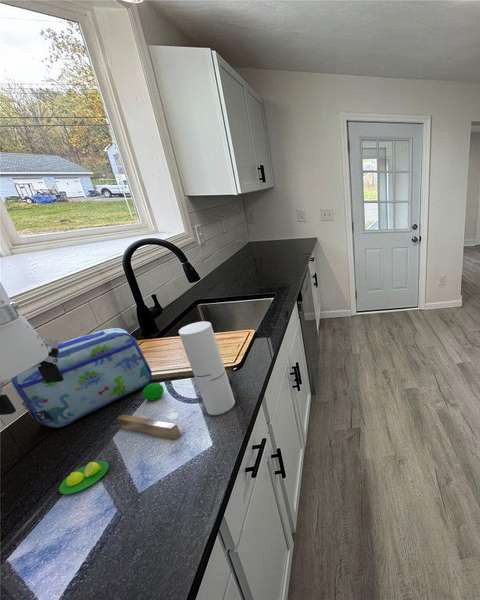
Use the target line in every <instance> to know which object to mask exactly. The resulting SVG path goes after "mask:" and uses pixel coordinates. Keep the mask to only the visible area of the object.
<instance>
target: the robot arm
mask: <svg viewBox="0 0 480 600" xmlns="http://www.w3.org/2000/svg"><path fill="white" fill-rule="evenodd" d="M19 308H20V306H19V304H18V303H17V302H13V301H12V300H11V299H10V297H9V295H8V293H7V291H6V290H5V288H4V286H3V284H2V283H1V281H0V416H7V415H13V414H14V413H16V412H17V409H16V407H15V406H14V404H13V403H12V401H11V399H10V398H9V396H8V395H7V394H2V392H3V388H4V385H5V383H6V382H9V381H11V379H12V378H14V377H16V376H18V375H20V374H21V373H23V372H25V371H27V370H29V369H30V368H32V367H34V366H36V365H37V364H39V365H41V366H39V367H38V370H39V371H40V373H41V375H42V377H43V378H44V380H45V382H46V383H52V382H61V381H63V380H64V378H63V376H62V374H61V372H60V371H59V369H58V367H57V365H56V363H58V359H57V355H58V352H59V350H58V349H57V348H58V344H59V340H58V338H41V335H40V334H39V333H38V332H37V331H36V330H35V328H34V327H33V326H32V324H31V323H30V322H29V321H28V319H26V318H25V317H24V316H23V315H20V314H19V313H18V311H17V309H19Z"/></svg>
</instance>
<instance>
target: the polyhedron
mask: <svg viewBox="0 0 480 600" xmlns="http://www.w3.org/2000/svg"><path fill="white" fill-rule="evenodd" d="M164 389H165V388H164V386H163V385H162V384H160V383H157V382H155V383H154V382H153V383H152V382H151V383H148V384H147V385H145V386H144V387H143V389H142V391H141V392H142V397H143V398H144V399H145V400H146V401H156V400H158V399H160V398H161V397H162V396H163V395H164V392H165V390H164Z"/></svg>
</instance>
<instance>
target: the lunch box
mask: <svg viewBox="0 0 480 600" xmlns="http://www.w3.org/2000/svg"><path fill="white" fill-rule="evenodd" d="M57 349H58V350H59V352H58V355H57V359H58V363H56V365H57V367H58V369H59V371H60V372H61V374H62V376H63V378H64V380H63V381H61V382H52V383H46V382H45V380H44V378H43V377H42V375H41V373H40V371H39V370H38V367H39V366H41V365H39V364H37V365H36V366H34V367H32V368H30V369H29V370H27V371H25V372H23V373H21V374H20V375H18V376H16V377H14V378H12V379H10V381H11V385H12V389H14V391H15V393H16V394H17V396H18V397H19V399H20V400H21V405H22V407H24V409H25V410H27V412H28V414H29V415H30V417H31V418H32V419H36V420H37V421H38V423H40V424H42V425H43V426H46V427H48V428H49V427H50V428H62V427H65V426H68V425H69V424H71V423H73V422H75V421H77V420H78V419H80V418H83V417H85V416H86V415H88V414H90V413H92V412H95V411H97V410H98V409H100V408H102V407H105V406H106V405H109V404H110V403H113V402H115V401H117V400H119V399H122V398H124V397H125V396H127V395H130V394H133V393H134V392H136V391H138V390H140V389H142V388H144V387H146V386H147V385H149V384H150V382H151V381H152V379H153V373H152V369H151V367H150V365H149V363H148V361H147V360H146V358H145V355H144V352H143V350H142V348H141V346H140V345H139V343H138V341H137V339H136V338H135V337H134V336H132V334H130V333H129V332H128V331H126V330H125V329H122V328H119V327H115V328H113V327H112V328H107V329H102V330H99V331H95V332H94V331H93V332H92V333H88V334H84V335H81V336H78V337H75V338H72V339H69V340H66V341H63V342H60V343H58V348H57Z"/></svg>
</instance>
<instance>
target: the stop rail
mask: <svg viewBox="0 0 480 600" xmlns="http://www.w3.org/2000/svg"><path fill="white" fill-rule="evenodd" d="M116 419H117V421H118V423H119V425H120V427H121V429H122V430H127V431H132V432H137V433H141V434H146V435H151V436H156V437H161V438H165V439H170V440H177V439H178V438H179V437H180V436H181V435H182V434H181V432H180V429H179V427H178V424H176V423H173V422H172V423H171V422H167V421H162V420H157V419H151V418H146V417H141V416H137V415H136V416H135V415H131V414H125V413H124V414H122V415H120V416H118V417H116Z"/></svg>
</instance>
